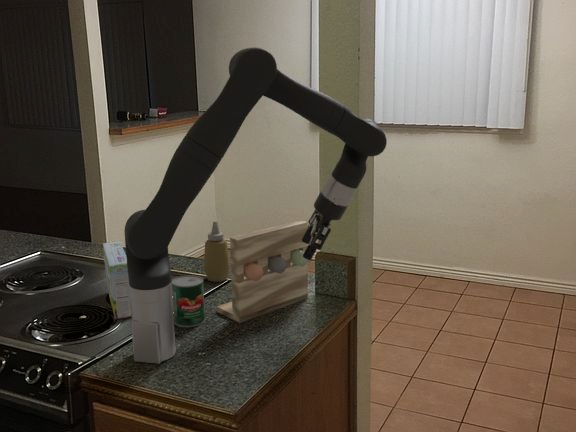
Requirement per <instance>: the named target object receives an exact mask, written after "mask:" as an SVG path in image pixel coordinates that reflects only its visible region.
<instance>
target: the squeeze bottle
mask: <svg viewBox="0 0 576 432" xmlns="http://www.w3.org/2000/svg"><path fill="white" fill-rule="evenodd" d="M224 237H225V236H224V233H223V232H222V231H220V228H219V224H218V221H217V220H216V221H213V222H212V225H211V232H209V233H207V240H206V241H205V242H204V257H203V272H204V273H205V275H206V279H207V280H208V281H209V282H214V283H216V282H218V283H219V282H223V281H227V279H228V276H229V273H230V271H231V260H230V257H229V255H230V254H229V248H228V241H227V240H226V239H224Z"/></svg>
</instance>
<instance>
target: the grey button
mask: <svg viewBox="0 0 576 432" xmlns="http://www.w3.org/2000/svg"><path fill="white" fill-rule="evenodd" d="M286 267H287V262H286V260H285V259H283V258H280V257H277V256H271V257H268V270H270V271H273V272H276V273H279V274H281V273H283V272H284V271H285V269H286Z"/></svg>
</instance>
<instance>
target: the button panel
mask: <svg viewBox="0 0 576 432" xmlns="http://www.w3.org/2000/svg"><path fill="white" fill-rule="evenodd" d="M307 226H308V221H304V220H300V219H299V220H296V221H291V222H287V223H282V224H280V225H276V226H272V227H271V226H270V227H268V228H267V227H266V228H263V229H258V230H255V231H251V232H247V233H243V234H240V235H239V234H238V235H235V236H231V237H229V245H230V246H229V248H230V249H229V251H230V254H229V255H230V278H231V279H230V280H231V281H230V282H231V301H229V302H226V303H223V304H220V305H217V306H216V307H215V308H216V313H219V314H221V315H223V316H225V317H227V318H229V319H230V320H233V321H235V322H237V323H239V324H241V323H245V322H246V321H249V320H252V319H255V318H257V317H260V316H264V315H266V314H269V313H271V312H274V311H277V310H280V309H283V308H285V307H288V306H292V305H294V304H296V303H299V302H302V301H304V300H303V299H305V300H307V299H309V297H308V294H309V293H308V291H309V290H308V287H309V286H308V281H309V278H308V277H309V276H308V275H309V273H308V270H309V269H308V268H309V267H308V265H309V264H308V263H309V261H308V262H307V264H306V265H305V266H303V267H302V266H298V265H295V264H293V263H291V251H292V250H295V249H297V250H300V251H304V252H305V250H306V248H307V247H308V245H309V244H306V243H304V242H302V238H303V236H304V234H305V232H306V230H307V229H308V228H307ZM271 256H277V257H280V258H283V259H285V260H286V262H287V267H286V269H285V271H284V272H283V273H281V274H279V273H276V272H273V271H270V270H268V257H271ZM250 262H251V263H254V264H256V265H259V266H261V267H262V268H263V276H262V278H261V279H260V280H258V281H253V280H251V279H248V278H246V277H244V264H247V263H250ZM306 298H307V299H306ZM301 300H302V301H301ZM298 301H299V302H298Z"/></svg>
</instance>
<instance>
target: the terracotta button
mask: <svg viewBox="0 0 576 432" xmlns="http://www.w3.org/2000/svg"><path fill="white" fill-rule="evenodd" d="M262 276H263V268H262V267H261V266H259V265H256V264H254V263H251V262H250V263H247V264H244V277H246V278H248V279H251V280H253V281H258V280H260V279H261V278H262Z"/></svg>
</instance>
